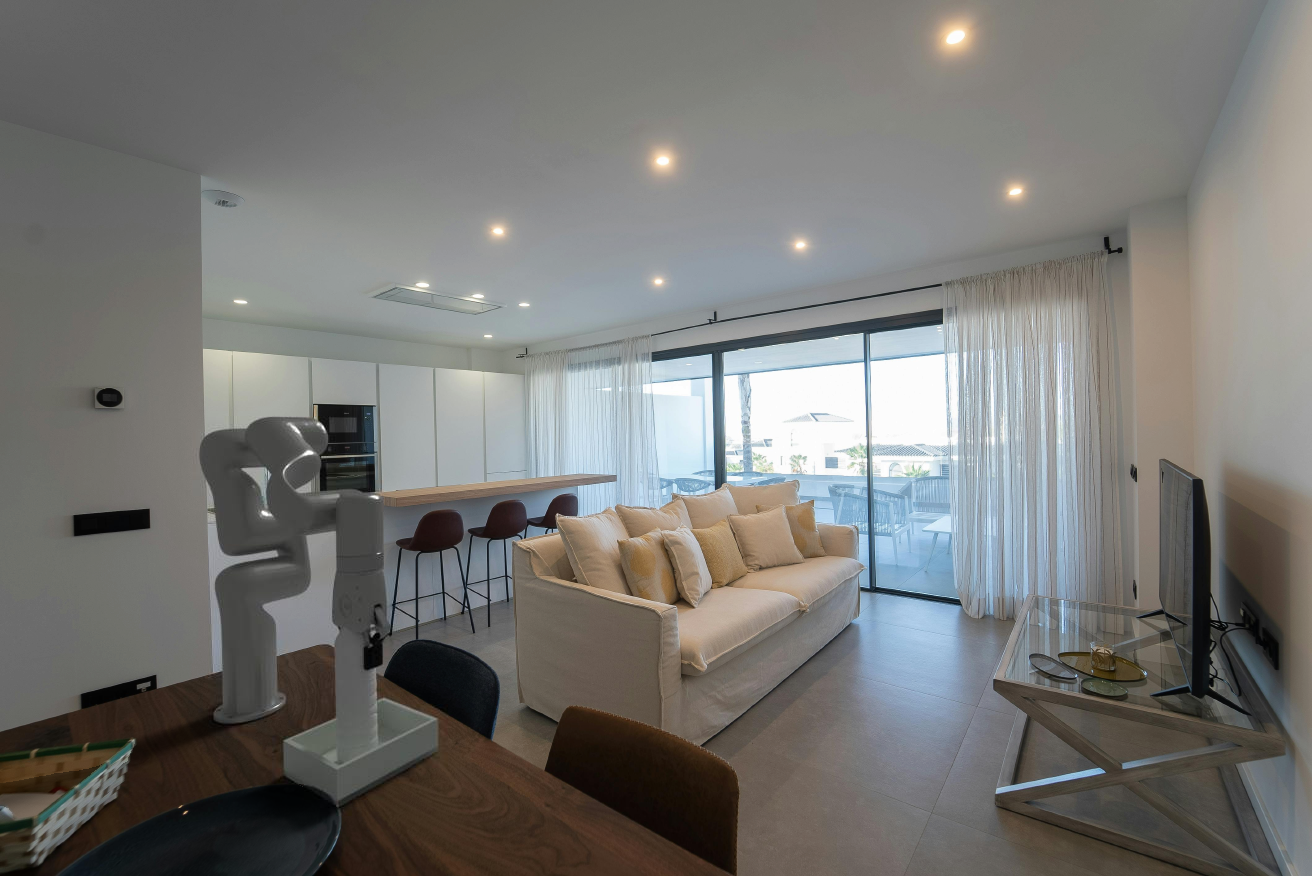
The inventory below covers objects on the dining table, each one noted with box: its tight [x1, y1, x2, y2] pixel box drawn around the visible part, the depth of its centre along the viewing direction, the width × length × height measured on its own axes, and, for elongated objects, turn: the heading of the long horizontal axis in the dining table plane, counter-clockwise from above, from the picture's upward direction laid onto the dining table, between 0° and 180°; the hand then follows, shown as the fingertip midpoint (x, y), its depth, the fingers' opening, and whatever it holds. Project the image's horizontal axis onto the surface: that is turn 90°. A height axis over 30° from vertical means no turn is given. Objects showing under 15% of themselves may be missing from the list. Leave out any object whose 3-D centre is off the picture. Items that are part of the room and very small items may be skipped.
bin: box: [282, 697, 439, 807], centre depth 102 cm, size 17×19×6 cm
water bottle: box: [333, 627, 378, 762], centre depth 102 cm, size 9×6×25 cm
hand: (361, 662), depth 102 cm, fingers closed on water bottle, 6 cm apart
